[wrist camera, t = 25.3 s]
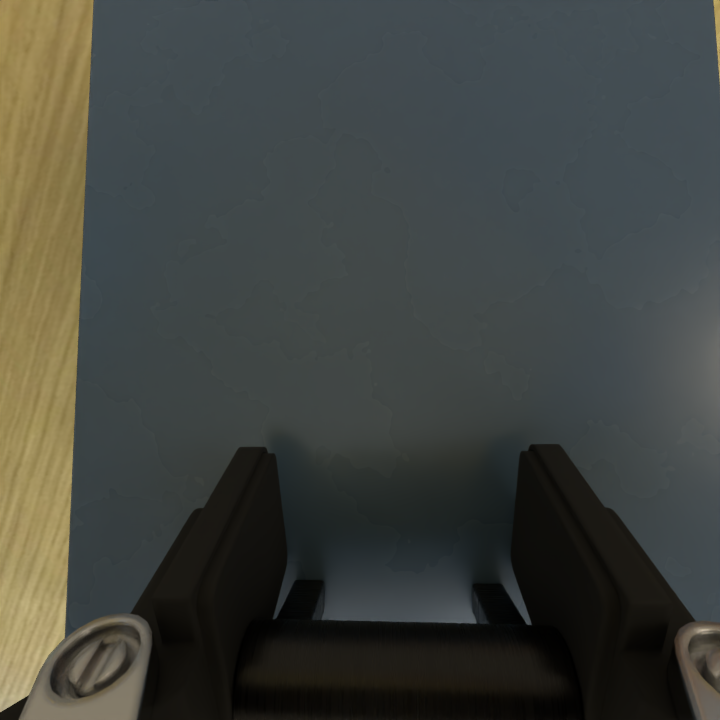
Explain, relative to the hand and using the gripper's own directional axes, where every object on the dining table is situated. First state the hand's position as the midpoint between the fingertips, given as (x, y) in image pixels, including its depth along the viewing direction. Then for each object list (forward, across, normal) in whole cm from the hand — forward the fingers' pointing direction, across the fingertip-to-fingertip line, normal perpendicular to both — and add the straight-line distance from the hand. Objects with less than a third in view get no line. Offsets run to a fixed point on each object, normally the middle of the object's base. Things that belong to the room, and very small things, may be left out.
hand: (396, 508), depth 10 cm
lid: (+3, 0, -4) cm, 5 cm away
